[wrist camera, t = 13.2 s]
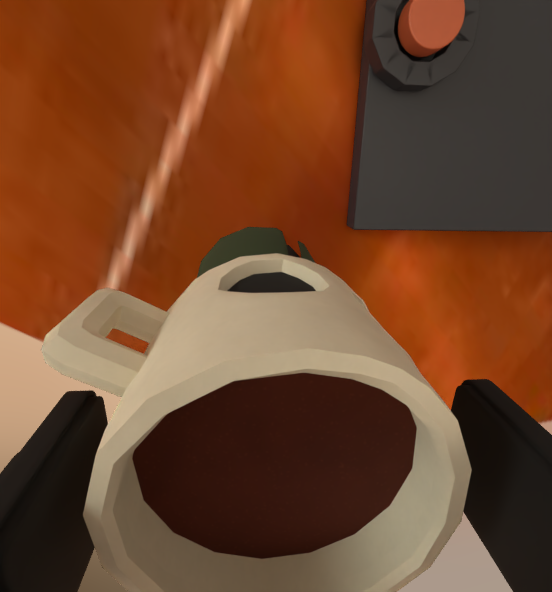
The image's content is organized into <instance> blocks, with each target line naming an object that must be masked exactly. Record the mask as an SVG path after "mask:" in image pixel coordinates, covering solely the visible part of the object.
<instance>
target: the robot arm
mask: <svg viewBox="0 0 552 592" xmlns="http://www.w3.org/2000/svg"><path fill="white" fill-rule="evenodd" d="M451 412H452V413H453V415H454V416H455V417H456V419H457V420H458V423H459V427H460V430H461V434H462V437H463V441H464V444H465V448H466V451H467V455H468V458H469V462H470V466H471V469H472V471H471V476H470V480H469V485H468V490H467V495H466V500H465V505H464V510H463V512H464V513H465V515H466V516H467V518H468V520H469V521H470V523H471V525H472V526H473V528H474V529H475V531H476V533H477V534H478V536H479V538H480V539H481V541H482V542H483V544H484V546H485V547H486V549H487V550H488V552H489V553H490V555H491V557H492V558H493V560H494V562H495V563H496V565H497V566H498V568H499V570H500V571H501V573H502V574H503V576H504V578H505V579H506V581H507V582H508V584H509V586H510V587H511V589H512V590H513V592H552V435H551V434H550V433H549V432H548V431H547V430H545V429H544V428H543V427H542V426H541V425H540V424H539V423H538V422H536V421H535V420H534V419H533V418H532V417H531V416H530V415H529V414H528V413H526V412H525V411H524V410H523V409H522V408H521V407H520V406H519V405H517V404H516V403H515V402H514V401H513V400H512V399H511V398H510V397H508V396H507V395H506V394H505V393H504V392H503V391H502V390H501V389H500V388H498V387H497V386H496V385H495V384H494V383H493V382H491V381H490V380H487V379H477V380H465V381H464V382H463V383H462V384H461V385H460V386H458V387H457V389H456V392H455V396H454V400H453V404H452V408H451ZM107 425H108V422H107V417H106V411H105V405H104V400H103V398H102V397H100V396H96V393H95V392H94V391H69V392H66V393H65V394H64V395H63V397H62V398H61V399H60V400H59V402H58V403H57V404H56V406H55V407H54V408H53V410H52V411H51V412H50V413H49V415H48V416H47V417H46V419H45V420H44V421H43V423H42V424H41V425H40V426H39V428H38V429H37V430H36V432H35V433H34V434H33V436H32V437H31V438H30V439H29V440H28V442H27V443H26V444H25V446H24V447H23V448H22V450H21V451H20V452H19V453H17V454H16V455H15V456H14V457H13V458H12V460H11V461H10V462H9V463H8V465H7V466H6V467H5V468H4V470H3V471H2V472H1V474H0V592H77V591H78V589H79V586H80V584H81V581H82V578H83V576H84V573H85V571H86V568H87V566H88V563H89V561H90V558H91V555H92V553H93V550H94V548H95V547H94V544H93V541H92V539H91V536H90V533H89V530H88V528H87V525H86V522H85V520H84V517H83V512H84V507H85V502H86V498H87V493H88V488H89V484H90V479H91V474H92V470H93V465H94V460H95V456H96V453H97V450H98V447H99V445H100V442H101V439H102V437H103V434H104V431H105V429H106V427H107Z"/></svg>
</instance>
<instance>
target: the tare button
mask: <svg viewBox="0 0 552 592" xmlns="http://www.w3.org/2000/svg"><path fill="white" fill-rule="evenodd" d="M464 16H465V3H464V0H409V1H408V2H407V4H406V5H405V6H404V8H403V10H402V12H401V14H400V17H399V21H398V37H399V40H400V43H401V45H402V47H403V48H404V49H405V50H406V51H407V52H408V53H409V54H411V55H413V56H415V57H427V56H430V55H432V54H434V53H435V52H437V51H439V50H440V49H442V48H443V47H445V46H447V45H448V44H449V43H451V42H452V41H453V40H454V38H455V37H456V36H457V34H458V33H459V31H460V29H461V27H462V24H463V21H464Z"/></svg>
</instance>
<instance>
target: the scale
mask: <svg viewBox="0 0 552 592" xmlns="http://www.w3.org/2000/svg"><path fill="white" fill-rule="evenodd" d="M408 1H409V0H367V3H366V14H365V26H364V37H363V48H362V59H361V71H360V82H359V93H358V105H357V116H356V127H355V138H354V150H353V161H352V172H351V183H350V195H349V206H348V217H347V226H349V227H351V228H352V229H354V230H436V231H527V232H552V0H464V3H465V16H464V21H463V24H462V27H461V29H460V31H459V33H458V34H457V36H456V37H455V38H454V40H453V41H452V42H451V43H449V44H448V45H447V46H445V47H443V48H442V49H440V50H439V51H437V52H435V53H434V54H432V55H430V56H427V57H415V56H413V55H411V54H409V53H408V52H407V51H406V50H405V49H404V48H403V47H402V45H401V43H400V40H399V37H398V21H399V17H400V14H401V12H402V10H403V8H404V6H405V5H406V4H407V2H408Z"/></svg>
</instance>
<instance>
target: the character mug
mask: <svg viewBox="0 0 552 592" xmlns="http://www.w3.org/2000/svg"><path fill="white" fill-rule="evenodd" d="M298 244H299V247H300V251H301V258H300V257H299V255H298V254H297V253H296V252H295V251H294V250H293V249H292V248H291V247H290V246H289V245H286V242H285V239H284V236H283V233H282V231H280V230H278V229H277V228H261V227H247V228H244V229H242V230H240V231H237V232H235V233H232V234H230V235H227V236H225V237H223V238H220V240H219V241H218V242H217V243H216V244H215V245H214V247H213V248H212V249H211V250H210V251H209V253H208V254H207V255H206V256H205V257H204V258H203V260H202V261H201V264H200V268H199V272H198V276H197V278H196V279H195V280H194V281H193V282H192V283H191V284H190V286H189V287H188V288H187V289H186V290H185V291H184V292H183V294H182V295H181V296H180V297H179V298H178V299H177V300H176V302H175V303H174V304H173V305H172V306H171V307H170V308H169V310H168V311H167V312H165V311H163V310H161V309H159V308H157V307H155V306H152V305H150V304H148V303H146V302H144V301H142V300H139V299H137V298H135V297H133V296H131V295H128V294H126V293H124V292H121V291H118V290H114V289H111V288H104V289H101V290H97V291H96V292H94V293H93V294H92V295H91V296H90V297H88V298H87V299H86V300H85V301H84V302H83V303H81V304H80V305H79V306H78V307H77V308H76V309H75V310H74V311H72V312H71V313H70V314H69V315H68V316H67V317H66V318H65V319H63V320H62V321H61V322H60V323H59V324H58V325H57V326H56V327H54V328H53V329H52V330H51V331H50V332H49V333H48V334H46V336H45V339H44V342H43V345H42V349H41V350H42V353H43V356H44V360H45V362H46V363H47V364H48V365H49V366H51V367H53V368H54V369H55V370H57V371H58V372H60V373H61V374H63V375H65V376H68V377H70V378H73V379H75V380H78V381H81V382H83V383H86V384H88V385H91V386H94V387H96V388H99V389H101V390H104V391H107V392H109V393H112V394H114V395H117V396H120V397H122V398H121V400H120V402H119V404H118V405H117V407H116V409H115V411H114V413H113V415H112V417H111V419H110V421H109V423H108V425H107V427H106V429H105V431H104V434H103V437H102V439H101V442H100V445H99V447H98V450H97V453H96V456H95V460H94V465H93V470H92V474H91V479H90V484H89V488H88V493H87V498H86V502H85V507H84V512H83V517H84V520H85V522H86V525H87V528H88V530H89V533H90V536H91V539H92V541H93V544H94V547H95V549H96V552H97V555H98V558H99V560H100V563H101V566H102V568H103V569H104V570H105V571H106V572H108V573H109V574H110V575H111V576H112V577H113V578H114V579H116V581H117V582H118V583H120V584H121V585H122V586H123V587H124V588H125V589H126V590H127V591H128V592H397V591H398V590H399V589H401V588H402V587H404V586H405V585H406V584H408V583H409V582H411V581H412V580H413V579H415V578H416V577H417V576H419V575H420V574H421V573H423V572H424V571H426V570H427V569H428V568H430V567H431V565H432V564H433V562H434V561H435V559H436V558H437V556H438V555H439V554H440V552H441V550H442V549H443V547H444V546H445V545H446V543H447V542H448V540H449V539H450V537H451V536H452V534H453V533H454V531H455V530H456V528H457V527H458V525H459V524H460V522H461V520H462V515H463V510H464V505H465V500H466V495H467V490H468V485H469V480H470V476H471V471H472V469H471V466H470V462H469V458H468V455H467V451H466V448H465V444H464V441H463V437H462V434H461V430H460V427H459V423H458V420H457V419H456V417H455V416H454V415H453V413H452V412H451V411H450V409H449V408H448V406H447V405H446V404H445V402H444V401H443V400H442V399H441V397H440V396H439V395H438V394H437V393H436V391H435V390H434V389H433V388H432V387H431V385H430V384H429V383H428V382H427V381H426V379H425V378H424V377H423V376H422V375H421V373H420V372H419V370H418V369H417V367H416V365H415V364H414V362H413V361H412V359H411V357H410V355H409V354H408V353H407V352H406V351H405V350H404V349H403V348H402V347H401V346H400V345H399V344H398V343H397V342H396V341H395V340H394V339H393V338H392V337H391V336H390V335H389V334H388V333H387V332H386V331H385V330H384V329H383V328H382V326H381V325H380V324H379V323H378V321H377V320H376V319H375V318H374V317H373V316H372V315H371V314H370V312H369V310H368V308H367V306H366V305H365V303H364V301H363V300H362V299H361V298H360V297H359V296H358V295H357V294H356V293H355V292H354V291H353V290H352V289H351V288H350V287H349V286H348V285H347V284H346V283H345V282H344V281H343V280H342V279H341V278H340V277H338V276H337V275H335V274H334V273H332V272H331V271H330V270H328V269H327V268H325V267H323V266H321V265H318V264H316V263H315V262H314V260H313V258H312V257H311V255H310V253H309V252H308V250H307V248H306V247H305V245H304V244H303V243H301V242H299V241H298ZM113 328H115V329H118V330H121V331H123V332H125V333H127V334H130V335H132V336H134V337H137V338H139V339H141V340H144V341H146V342H148V343H149V345H148V347H147V349H146V351H145V353H144V354H143V353H140V352H138V351H135V350H133V349H131V348H128V347H126V346H124V345H121V344H119V343H116V342H114V341H112V340H109V339H107V338H105V337H106V336H107V335H108V334H109V332H110V331H111V330H112V329H113Z"/></svg>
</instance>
